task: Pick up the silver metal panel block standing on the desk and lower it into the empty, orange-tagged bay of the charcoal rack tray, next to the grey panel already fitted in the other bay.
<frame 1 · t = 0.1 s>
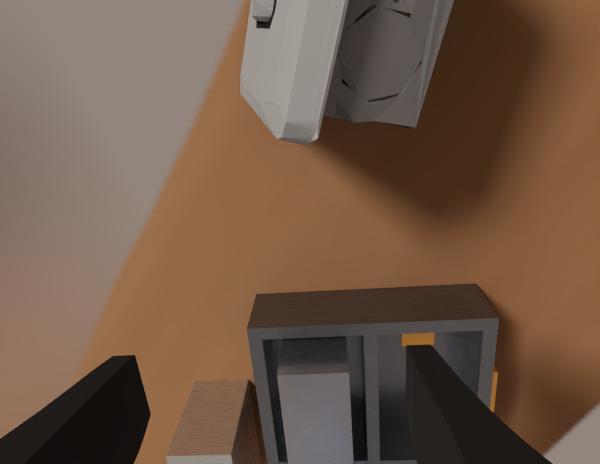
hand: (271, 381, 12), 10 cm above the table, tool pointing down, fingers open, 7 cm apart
panel: (229, 420, 26), on the table
rack: (366, 360, 23), on the table
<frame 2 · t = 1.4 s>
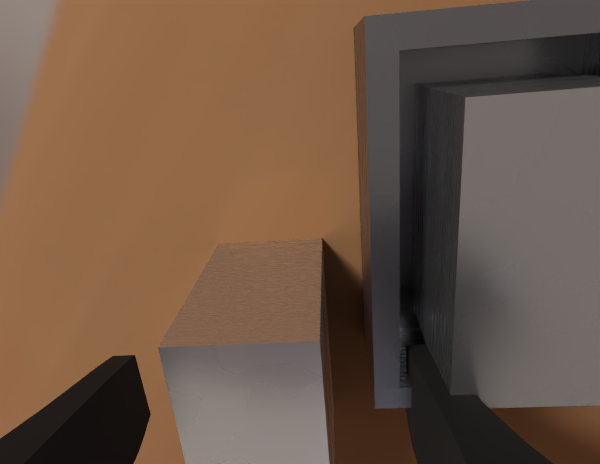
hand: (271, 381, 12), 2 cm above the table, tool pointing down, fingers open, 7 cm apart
panel: (280, 328, 14), on the table
rack: (566, 189, 12), on the table
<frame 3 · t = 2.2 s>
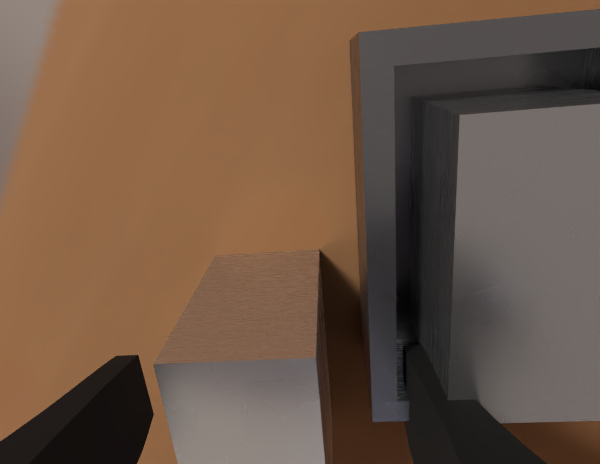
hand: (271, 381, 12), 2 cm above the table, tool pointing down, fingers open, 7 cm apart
panel: (277, 339, 14), on the table
rack: (563, 200, 12), on the table
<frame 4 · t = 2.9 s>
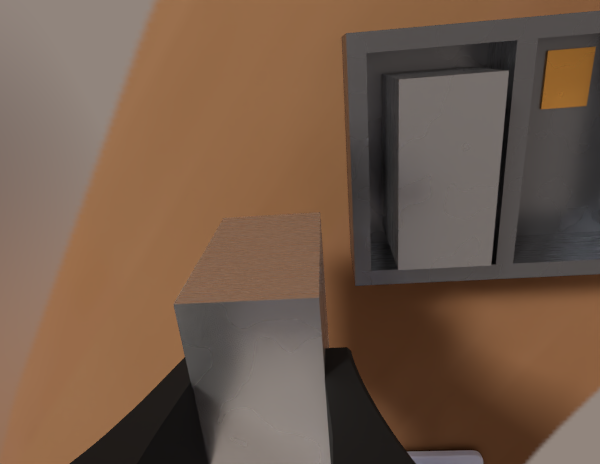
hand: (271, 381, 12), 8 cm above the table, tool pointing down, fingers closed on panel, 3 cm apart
panel: (280, 299, 15), point 5 cm above the table, touching gripper
rack: (484, 144, 17), on the table
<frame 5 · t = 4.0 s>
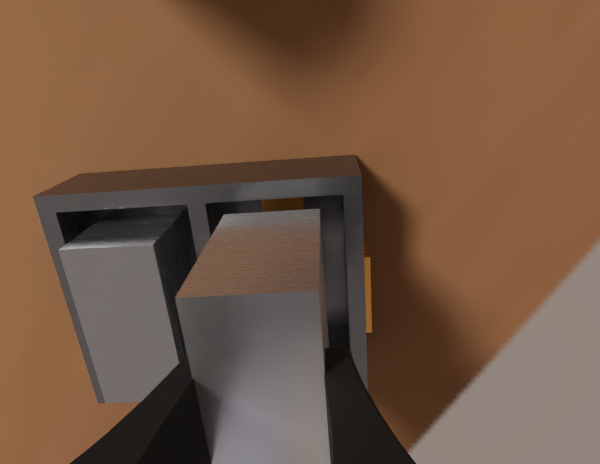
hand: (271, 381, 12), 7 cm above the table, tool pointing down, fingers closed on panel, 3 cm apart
panel: (280, 295, 15), point 4 cm above the table, touching gripper
rack: (229, 266, 19), on the table
when the fingers open (3 cm above the table, at t = 4.9 s): panel stays where it is, resting on rack.
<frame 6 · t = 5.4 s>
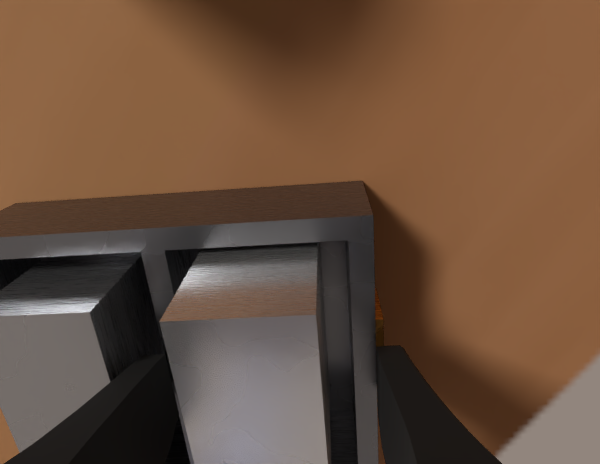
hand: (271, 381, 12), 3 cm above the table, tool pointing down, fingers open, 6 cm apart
panel: (277, 306, 14), point 1 cm above the table, touching rack
rack: (206, 315, 15), on the table
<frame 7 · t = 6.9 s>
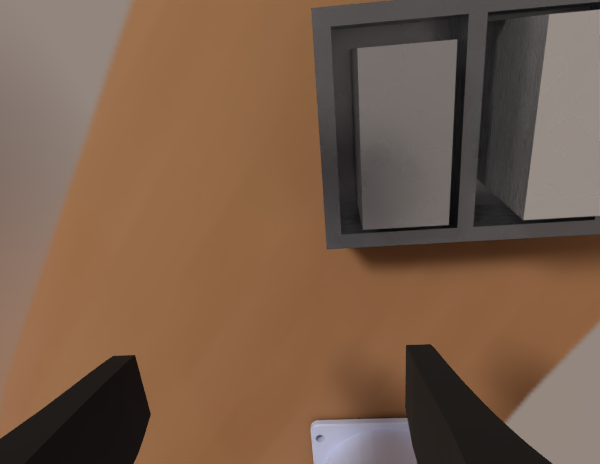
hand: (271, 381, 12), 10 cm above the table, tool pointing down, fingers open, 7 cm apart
panel: (518, 101, 18), point 1 cm above the table, touching rack
rack: (448, 118, 18), on the table
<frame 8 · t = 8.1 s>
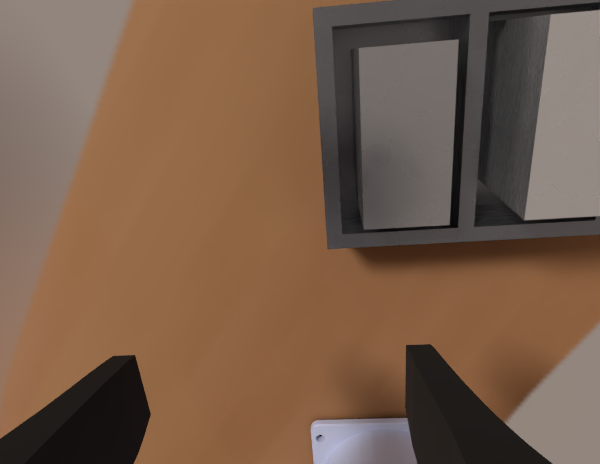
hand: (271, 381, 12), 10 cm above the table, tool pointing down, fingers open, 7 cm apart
panel: (519, 101, 18), point 1 cm above the table, touching rack
rack: (449, 118, 18), on the table
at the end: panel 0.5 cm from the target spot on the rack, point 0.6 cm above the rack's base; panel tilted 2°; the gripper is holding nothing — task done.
